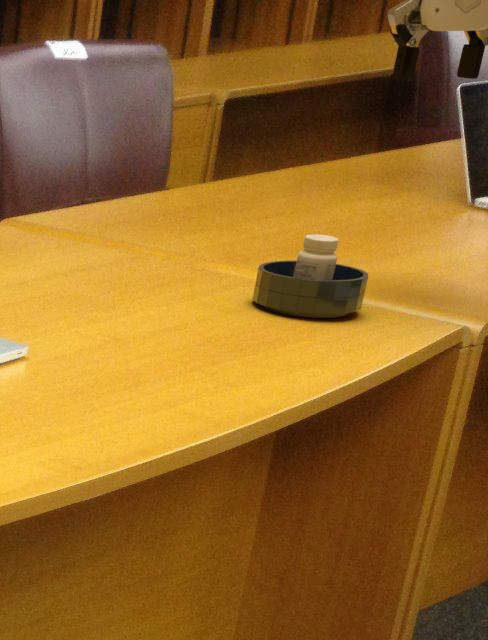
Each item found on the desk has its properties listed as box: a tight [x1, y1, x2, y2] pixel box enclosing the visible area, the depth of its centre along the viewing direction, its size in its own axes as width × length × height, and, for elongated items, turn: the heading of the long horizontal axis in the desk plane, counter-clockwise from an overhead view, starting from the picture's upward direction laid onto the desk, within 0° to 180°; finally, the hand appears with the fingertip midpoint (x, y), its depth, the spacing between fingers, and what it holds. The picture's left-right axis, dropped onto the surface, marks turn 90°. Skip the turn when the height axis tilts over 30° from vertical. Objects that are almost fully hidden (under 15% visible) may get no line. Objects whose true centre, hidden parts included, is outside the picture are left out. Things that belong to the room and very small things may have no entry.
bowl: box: [252, 260, 369, 319], centre depth 201 cm, size 13×13×5 cm
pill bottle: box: [293, 234, 339, 280], centre depth 200 cm, size 5×5×8 cm
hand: (434, 78), depth 199 cm, fingers open, 9 cm apart
